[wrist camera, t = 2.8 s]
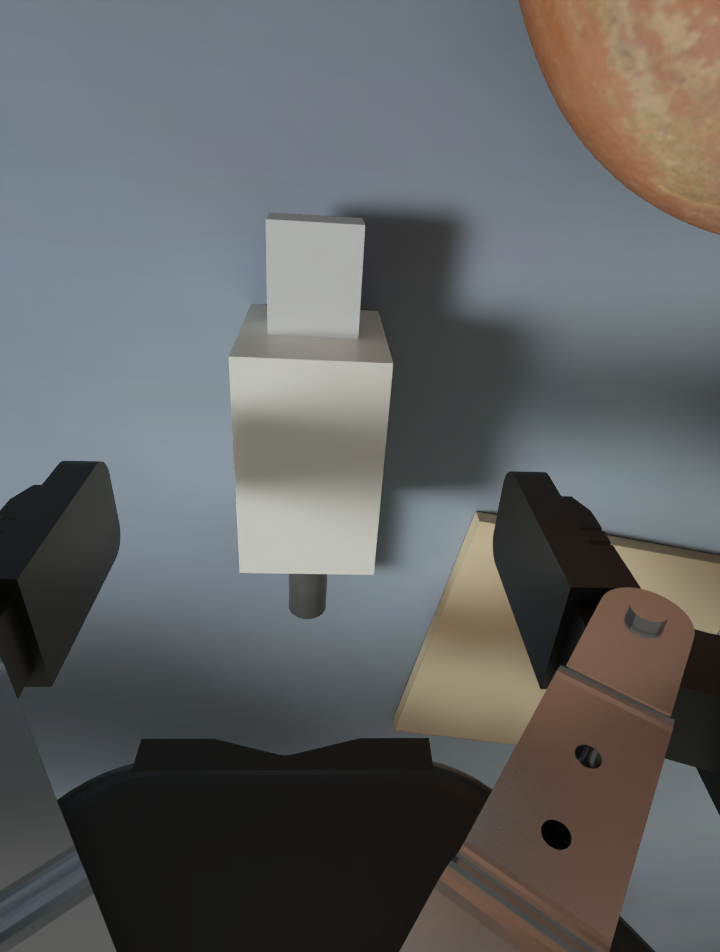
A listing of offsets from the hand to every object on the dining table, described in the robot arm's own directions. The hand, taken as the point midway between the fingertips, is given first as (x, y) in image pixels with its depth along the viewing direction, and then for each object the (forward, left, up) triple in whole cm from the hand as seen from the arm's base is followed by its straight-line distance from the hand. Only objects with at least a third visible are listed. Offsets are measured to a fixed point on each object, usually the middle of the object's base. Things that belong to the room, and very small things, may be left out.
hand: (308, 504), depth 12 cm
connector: (-1, 0, -7) cm, 7 cm away
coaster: (-7, -13, -7) cm, 16 cm away
